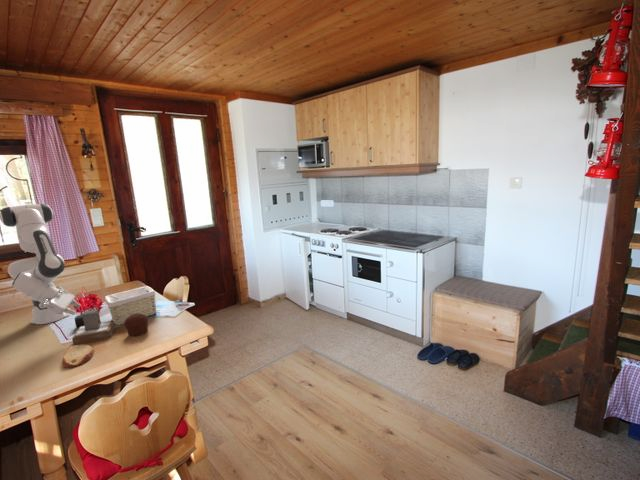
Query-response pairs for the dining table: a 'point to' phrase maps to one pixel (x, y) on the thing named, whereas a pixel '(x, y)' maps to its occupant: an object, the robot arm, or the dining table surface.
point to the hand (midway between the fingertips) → (77, 310)
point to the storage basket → (131, 303)
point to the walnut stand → (93, 333)
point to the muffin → (136, 324)
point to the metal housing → (91, 320)
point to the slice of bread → (77, 355)
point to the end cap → (79, 321)
